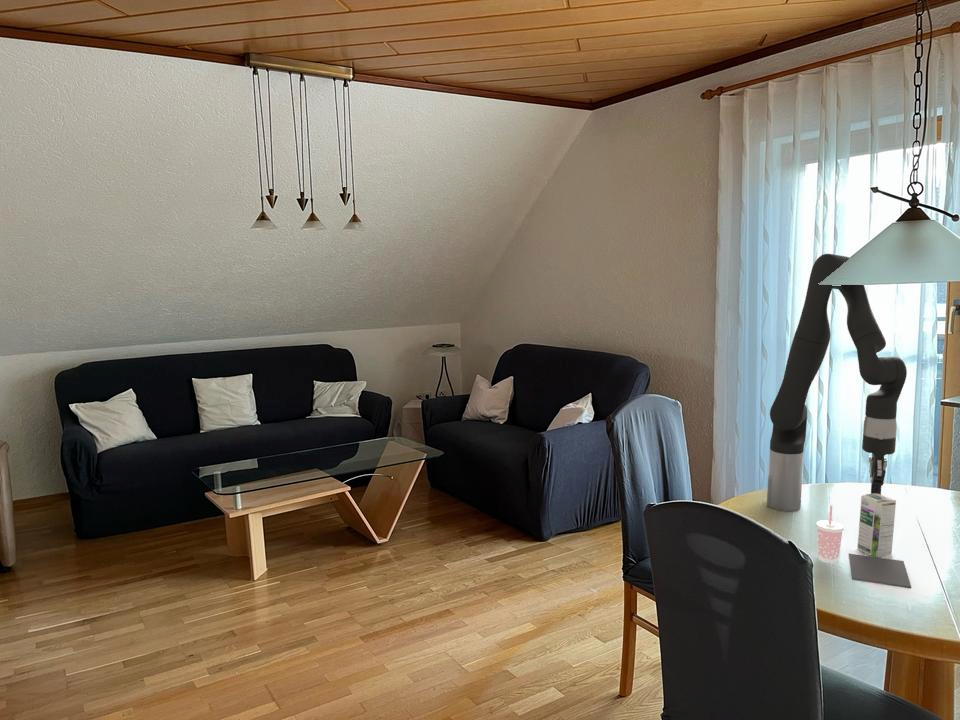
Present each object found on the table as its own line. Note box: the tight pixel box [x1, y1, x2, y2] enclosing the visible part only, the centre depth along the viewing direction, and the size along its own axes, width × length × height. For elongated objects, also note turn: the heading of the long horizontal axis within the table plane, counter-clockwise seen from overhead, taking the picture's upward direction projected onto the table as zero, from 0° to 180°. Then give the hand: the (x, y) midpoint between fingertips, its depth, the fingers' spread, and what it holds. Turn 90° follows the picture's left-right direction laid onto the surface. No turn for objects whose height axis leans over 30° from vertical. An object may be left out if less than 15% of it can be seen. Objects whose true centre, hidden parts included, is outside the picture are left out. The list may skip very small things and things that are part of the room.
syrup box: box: [856, 493, 897, 558], centre depth 185 cm, size 6×6×14 cm
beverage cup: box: [816, 504, 845, 564], centre depth 181 cm, size 6×6×14 cm
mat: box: [848, 553, 912, 589], centre depth 176 cm, size 12×15×1 cm
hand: (875, 498), depth 192 cm, fingers closed
